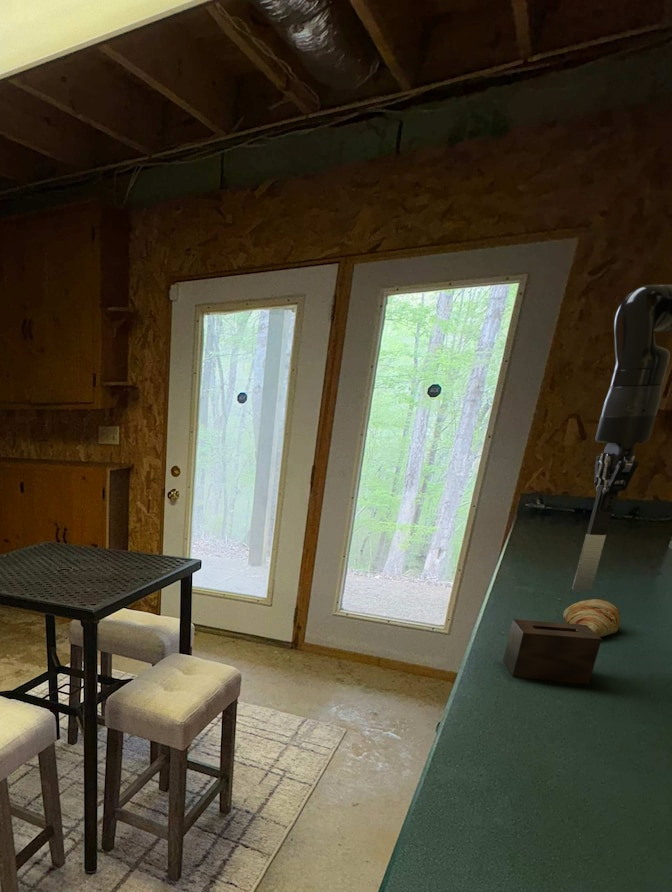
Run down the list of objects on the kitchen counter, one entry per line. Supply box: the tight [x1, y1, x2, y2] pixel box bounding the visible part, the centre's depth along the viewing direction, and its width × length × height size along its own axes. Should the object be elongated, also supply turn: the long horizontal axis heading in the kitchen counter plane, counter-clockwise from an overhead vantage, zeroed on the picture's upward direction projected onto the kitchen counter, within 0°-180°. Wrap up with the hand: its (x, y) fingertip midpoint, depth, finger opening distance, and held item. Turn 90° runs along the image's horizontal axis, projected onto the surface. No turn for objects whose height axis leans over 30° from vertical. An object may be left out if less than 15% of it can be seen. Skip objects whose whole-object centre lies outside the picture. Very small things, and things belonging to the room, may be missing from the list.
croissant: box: [562, 598, 621, 638], centre depth 142 cm, size 21×10×8 cm, turn 141°
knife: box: [571, 485, 612, 592], centre depth 118 cm, size 3×2×20 cm, turn 67°
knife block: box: [502, 618, 603, 685], centre depth 120 cm, size 12×8×9 cm
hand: (602, 512), depth 116 cm, fingers closed on knife, 2 cm apart
